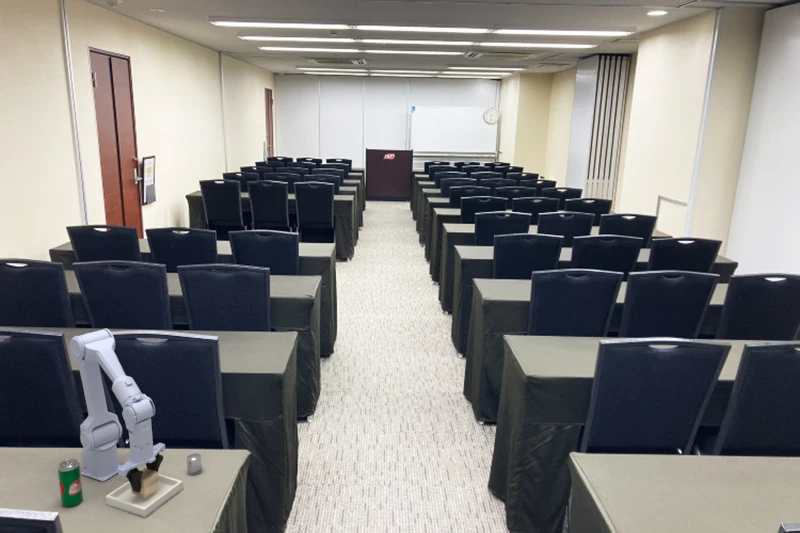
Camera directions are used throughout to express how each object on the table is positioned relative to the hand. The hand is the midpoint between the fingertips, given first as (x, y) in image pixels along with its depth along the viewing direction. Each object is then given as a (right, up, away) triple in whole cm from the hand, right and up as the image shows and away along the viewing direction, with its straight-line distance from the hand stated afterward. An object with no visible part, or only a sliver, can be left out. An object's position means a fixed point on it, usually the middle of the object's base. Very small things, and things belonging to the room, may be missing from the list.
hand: (144, 485), depth 156 cm
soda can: (-19, -4, -3) cm, 19 cm away
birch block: (0, -2, 0) cm, 2 cm away
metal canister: (+9, -1, +13) cm, 16 cm away
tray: (0, -3, +1) cm, 3 cm away
